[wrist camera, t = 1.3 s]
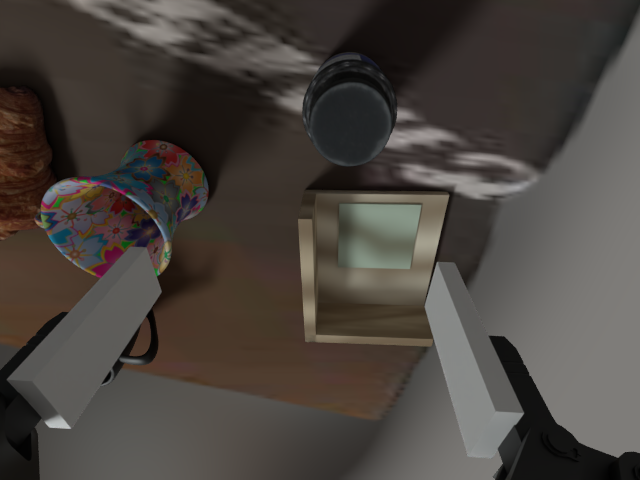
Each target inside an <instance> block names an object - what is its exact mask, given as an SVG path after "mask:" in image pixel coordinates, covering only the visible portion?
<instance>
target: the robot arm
mask: <svg viewBox="0 0 640 480" xmlns="http://www.w3.org/2000/svg"><path fill="white" fill-rule="evenodd" d="M161 292H162V291H161V288H160V285H159V282H158V279H157V276H156V273H155V270H154V268H153V265H152V262H151V259H150V256H149V253H148V250H147V247H129V248H128V249H127V251H126V252H125V253H124V254H123V255H122V256H121V257H120V258H119V259H118V260H117V261H116V262H115V263H114V265H113V266H112V267H111V268H110V269H109V270H108V271H107V272H106V273H105V274H104V275H103V276H102V277H101V279H100V280H99V281H98V282H97V283H96V284H95V285H94V286H93V287H92V288H91V289H90V290H89V291H88V292H87V294H86V295H85V296H84V297H83V298H82V299H81V300H80V301H79V302H78V303H77V304H76V305H75V306H74V308H73V309H72V310H71V311H70V312H62V313H60V314H59V315H57V316H55V317H54V318H52V319H51V320H49V321H48V322H47V323H46V324H45V325H44V326H43V327H42V328H41V329H40V330H39V331H38V332H37V333H36V336H33V337H32V338H31V339H30V340H29V341H28V342H27V343H26V346H23V347H22V348H21V349H20V350H19V351H18V352H17V354H16V355H15V356H14V357H13V358H12V359H11V360H10V361H9V362H8V363H7V364H6V365H5V366H4V367H3V368H2V369H1V370H0V480H40V474H39V453H38V452H39V451H38V434H37V431H36V429H35V428H34V427H35V426H36V425H37V423H38V422H39V421H40V419H42V420H43V421H44V422H45V423H46V424H47V425H48V426H49V427H51V428H66V429H72V428H73V426H74V424H75V423H76V421H77V420H78V418H79V417H80V415H81V414H82V412H83V411H84V409H85V408H86V406H87V405H88V403H89V402H90V400H91V399H92V397H93V396H94V394H95V393H96V391H97V390H98V388H99V387H100V385H101V384H102V382H103V380H104V379H105V377H106V376H107V374H108V373H109V371H110V370H111V368H112V367H113V365H114V364H115V362H116V361H117V359H118V358H119V356H120V355H121V353H122V352H123V350H124V349H125V347H126V346H127V344H128V343H129V341H130V339H131V338H132V336H133V335H134V333H135V332H136V330H137V329H138V327H139V326H140V324H141V323H142V321H143V320H144V318H145V317H146V315H147V314H148V312H149V311H150V309H151V308H152V306H153V305H154V303H155V302H156V300H157V299H158V297H159V295H160V294H161ZM425 309H426V313H427V316H428V320H429V323H430V327H431V330H432V334H433V337H434V341H435V344H436V348H437V351H438V354H439V358H440V362H441V365H442V368H443V372H444V375H445V379H446V382H447V386H448V389H449V393H450V396H451V400H452V403H453V406H454V410H455V414H456V417H457V420H458V424H459V428H460V431H461V435H462V438H463V441H464V445H465V448H466V452H467V455H468V457H481V458H493V456H494V455H495V453H496V452H497V451H499V453H500V456H501V459H502V462H503V464H502V466H501V467H500V468H499V469H498V471H497V472H496V474H495V475H494V476H493V478H495V480H640V453H637V452H625V453H623V454H622V455H621V456H620V457H619V458H616V457H614V456H611V455H609V454H606V453H603V452H600V451H598V450H595V449H593V448H590V447H587V446H585V445H583V444H581V443H579V442H578V441H577V440H576V439H575V437H574V436H573V435H572V434H571V433H570V432H568V431H567V430H566V429H565V428H563V427H562V426H560V425H558V424H557V423H556V422H555V420H554V419H553V417H552V415H551V413H550V412H549V410H548V408H547V406H546V404H545V402H544V400H543V398H542V397H541V395H540V393H539V391H538V389H537V387H536V385H535V383H534V381H533V379H532V377H531V376H529V372H528V370H527V368H526V366H525V365H524V364H523V360H522V358H521V357H520V355H519V353H518V351H517V349H516V348H515V347H514V346H513V345H512V344H511V343H510V342H509V341H508V340H507V339H506V338H505V337H504V336H503V337H502V336H488V334H487V332H486V330H485V327H484V325H483V323H482V321H481V319H480V317H479V314H478V312H477V311H476V308H475V306H474V304H473V302H472V299H471V297H470V295H469V293H468V291H467V288H466V286H465V284H464V282H463V280H462V278H461V275H460V273H459V271H458V269H457V267H456V265H455V263H450V262H437V264H436V268H435V271H434V275H433V278H432V282H431V285H430V289H429V292H428V296H427V299H426V303H425Z"/></svg>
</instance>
